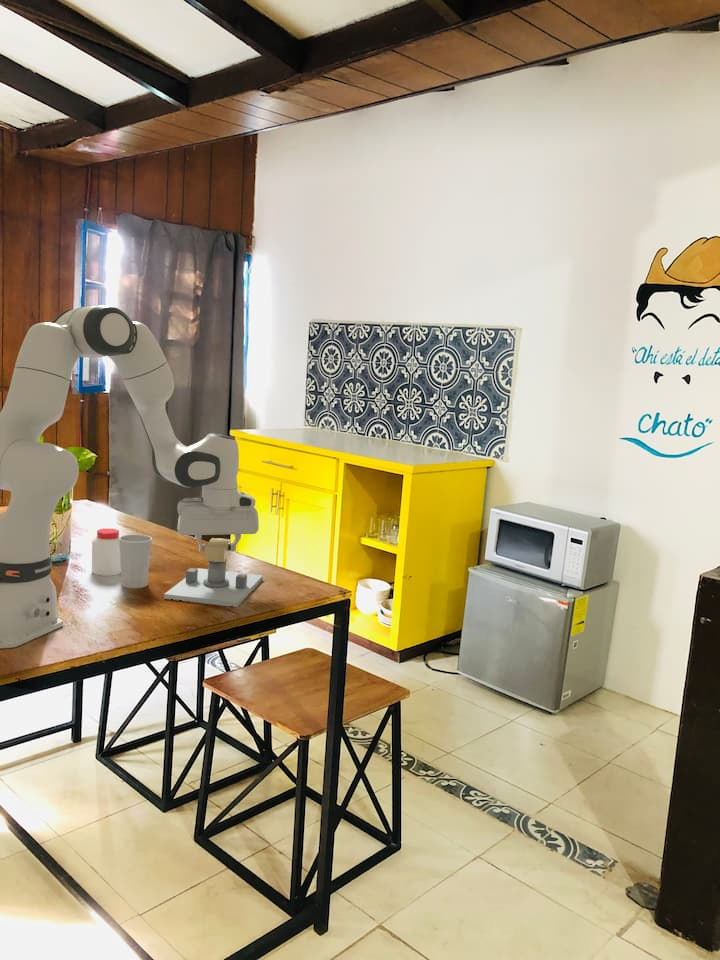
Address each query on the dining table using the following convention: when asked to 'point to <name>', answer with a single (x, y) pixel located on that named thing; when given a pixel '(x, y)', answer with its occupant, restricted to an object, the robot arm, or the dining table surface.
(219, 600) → the base
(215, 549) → the tan parcel with label
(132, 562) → the cup
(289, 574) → the dining table surface
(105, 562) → the pill bottle
